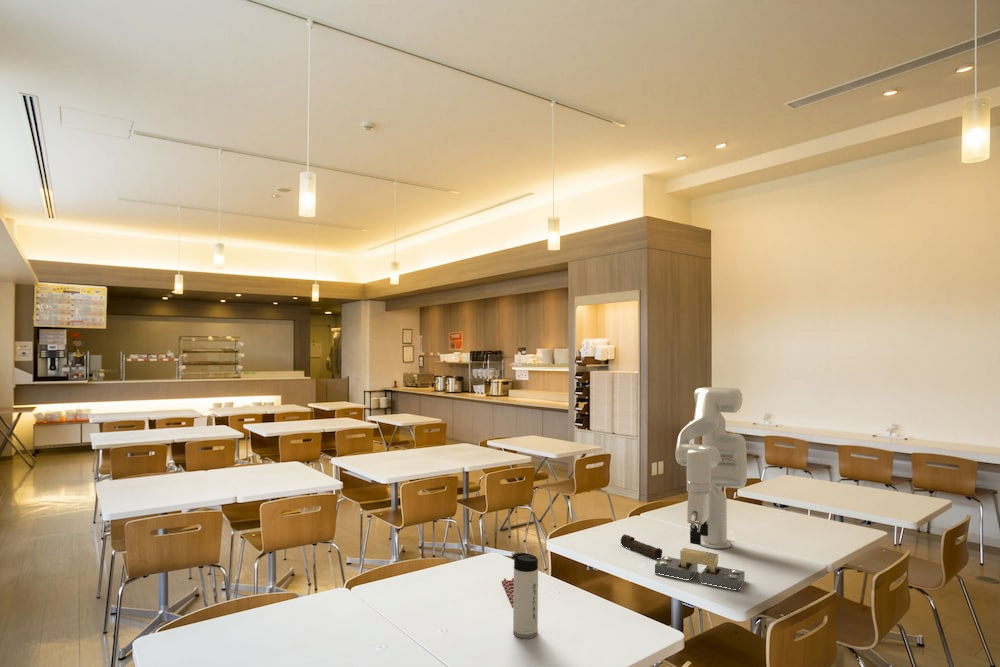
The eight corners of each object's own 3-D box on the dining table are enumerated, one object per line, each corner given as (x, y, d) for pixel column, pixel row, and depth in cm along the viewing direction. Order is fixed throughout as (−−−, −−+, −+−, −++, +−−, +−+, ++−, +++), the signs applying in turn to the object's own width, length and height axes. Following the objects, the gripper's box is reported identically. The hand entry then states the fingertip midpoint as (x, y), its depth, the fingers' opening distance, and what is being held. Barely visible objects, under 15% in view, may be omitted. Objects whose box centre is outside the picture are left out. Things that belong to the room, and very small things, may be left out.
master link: (683, 572, 197) (683, 547, 197) (718, 579, 191) (718, 554, 191) (680, 575, 193) (680, 551, 194) (715, 583, 187) (715, 557, 188)
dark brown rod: (663, 559, 210) (663, 546, 210) (654, 561, 208) (654, 547, 208) (626, 544, 226) (626, 532, 226) (618, 546, 224) (618, 533, 224)
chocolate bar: (512, 610, 167) (512, 603, 167) (501, 584, 186) (501, 578, 186) (537, 608, 168) (537, 601, 168) (524, 583, 187) (524, 577, 187)
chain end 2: (738, 591, 181) (738, 579, 181) (700, 583, 187) (700, 571, 187) (744, 581, 189) (744, 569, 189) (708, 573, 195) (708, 562, 195)
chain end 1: (663, 565, 203) (663, 554, 203) (697, 571, 197) (697, 560, 197) (654, 574, 195) (654, 563, 195) (689, 581, 189) (689, 569, 189)
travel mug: (510, 628, 155) (511, 550, 156) (535, 627, 155) (536, 550, 156) (513, 639, 149) (513, 559, 149) (539, 638, 149) (539, 558, 150)
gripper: (693, 480, 203) (694, 530, 202) (679, 491, 188) (680, 545, 188) (716, 483, 199) (717, 534, 198) (704, 494, 184) (704, 549, 184)
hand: (699, 539), depth 193 cm, fingers open, 9 cm apart
